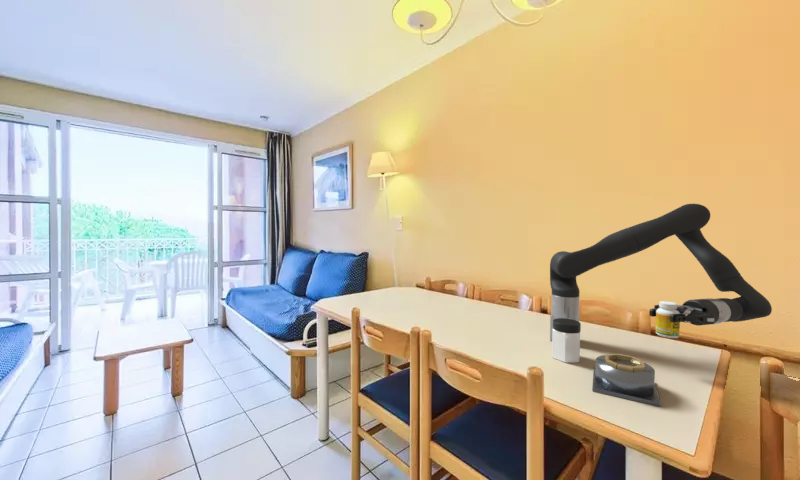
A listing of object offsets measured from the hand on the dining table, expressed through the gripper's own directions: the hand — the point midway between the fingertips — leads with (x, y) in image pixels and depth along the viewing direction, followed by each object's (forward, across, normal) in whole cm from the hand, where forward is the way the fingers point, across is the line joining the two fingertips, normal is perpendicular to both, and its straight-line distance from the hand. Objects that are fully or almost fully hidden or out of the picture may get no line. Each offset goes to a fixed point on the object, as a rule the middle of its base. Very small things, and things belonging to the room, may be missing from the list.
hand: (660, 315), depth 94 cm
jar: (+18, -16, +18) cm, 30 cm away
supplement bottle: (-3, 0, +6) cm, 7 cm away
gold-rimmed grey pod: (+16, +4, +17) cm, 24 cm away
